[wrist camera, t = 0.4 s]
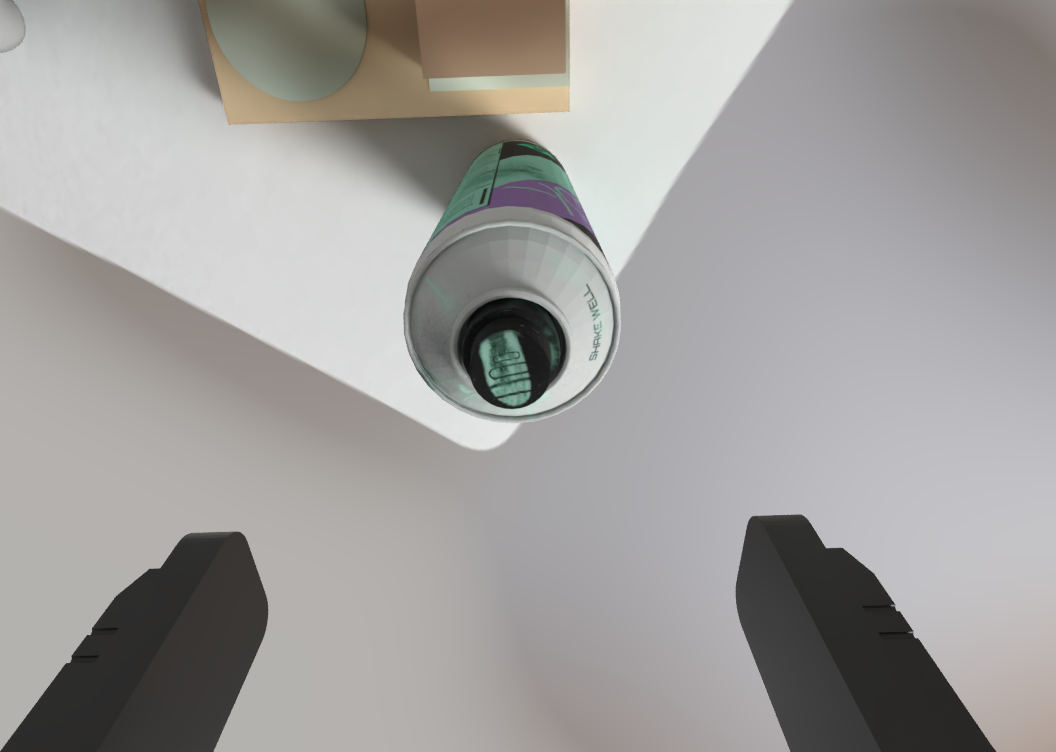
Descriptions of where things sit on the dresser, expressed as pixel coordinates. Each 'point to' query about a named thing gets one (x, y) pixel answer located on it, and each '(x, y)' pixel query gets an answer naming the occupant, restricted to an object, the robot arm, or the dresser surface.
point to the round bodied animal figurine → (10, 26)
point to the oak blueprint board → (350, 65)
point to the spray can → (513, 292)
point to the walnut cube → (491, 37)
